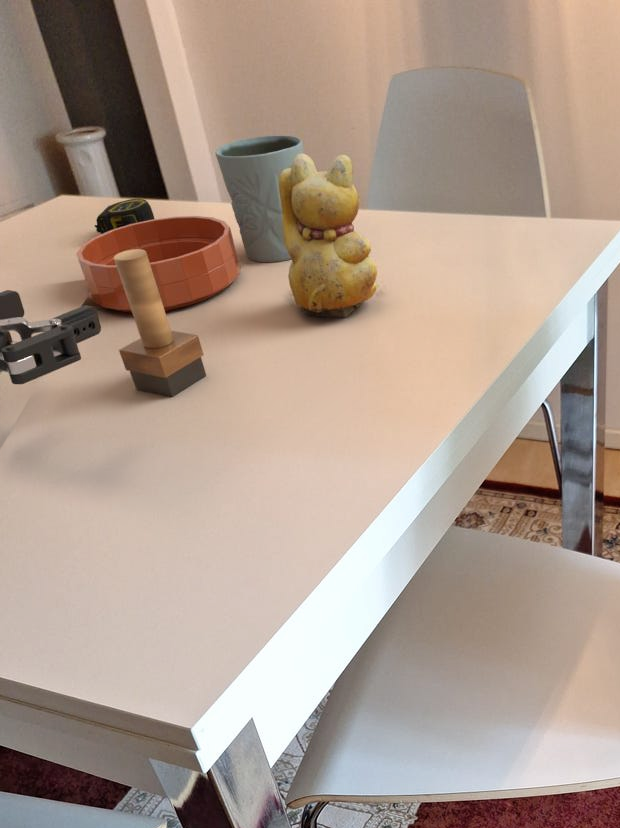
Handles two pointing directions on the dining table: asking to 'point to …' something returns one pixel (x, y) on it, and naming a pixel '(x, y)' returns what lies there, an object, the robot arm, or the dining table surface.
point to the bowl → (164, 260)
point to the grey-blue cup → (258, 191)
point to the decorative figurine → (325, 238)
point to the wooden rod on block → (155, 334)
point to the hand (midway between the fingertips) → (56, 310)
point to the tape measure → (124, 215)
